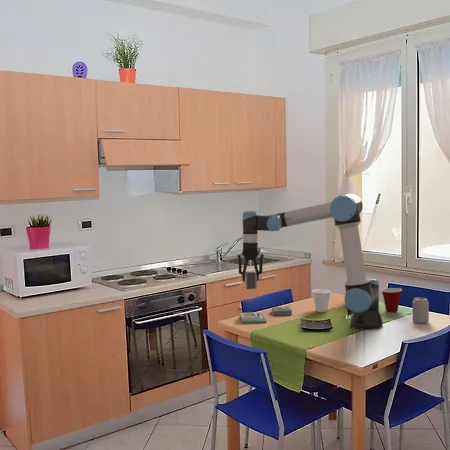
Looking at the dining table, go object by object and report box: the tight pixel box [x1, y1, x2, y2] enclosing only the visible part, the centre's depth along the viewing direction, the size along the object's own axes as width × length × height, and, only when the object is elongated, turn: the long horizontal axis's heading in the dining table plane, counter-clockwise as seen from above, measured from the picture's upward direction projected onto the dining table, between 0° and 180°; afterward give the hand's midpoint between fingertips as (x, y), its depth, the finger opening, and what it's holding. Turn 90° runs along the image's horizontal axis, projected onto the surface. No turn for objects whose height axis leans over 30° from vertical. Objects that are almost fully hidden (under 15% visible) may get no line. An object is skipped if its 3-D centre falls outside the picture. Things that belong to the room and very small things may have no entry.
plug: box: [245, 271, 257, 290], centre depth 275 cm, size 5×4×8 cm
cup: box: [311, 288, 332, 313], centre depth 293 cm, size 10×10×11 cm
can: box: [412, 297, 430, 325], centre depth 266 cm, size 8×8×12 cm
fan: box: [271, 305, 293, 317], centre depth 290 cm, size 9×9×3 cm
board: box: [239, 311, 267, 325], centre depth 279 cm, size 14×12×3 cm
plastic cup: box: [380, 287, 403, 313], centre depth 289 cm, size 11×11×12 cm
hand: (250, 287), depth 275 cm, fingers closed on plug, 4 cm apart
